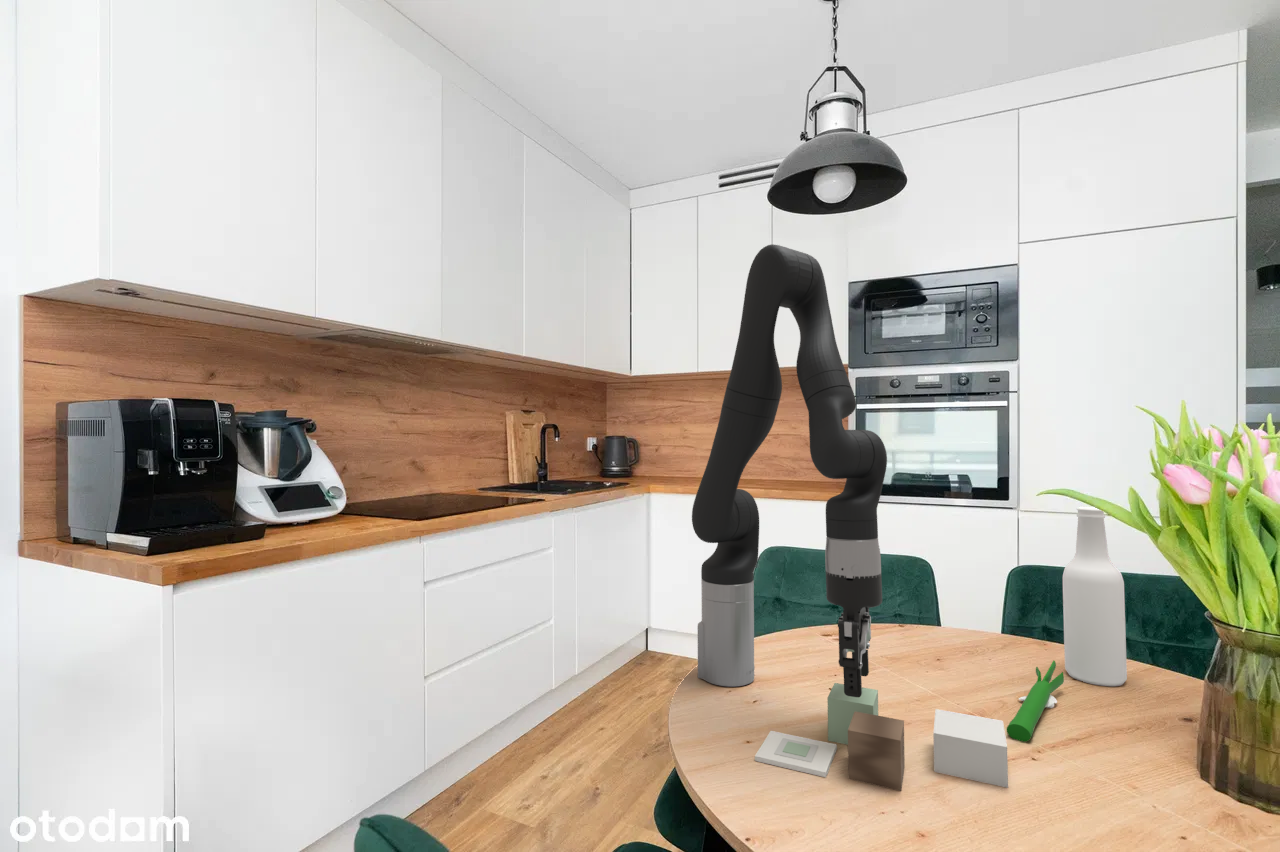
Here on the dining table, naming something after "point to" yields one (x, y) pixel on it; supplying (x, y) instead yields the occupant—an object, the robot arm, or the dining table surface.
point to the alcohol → (1094, 607)
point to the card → (797, 753)
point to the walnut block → (876, 750)
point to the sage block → (847, 710)
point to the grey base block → (970, 747)
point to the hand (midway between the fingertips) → (857, 685)
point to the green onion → (1034, 705)
